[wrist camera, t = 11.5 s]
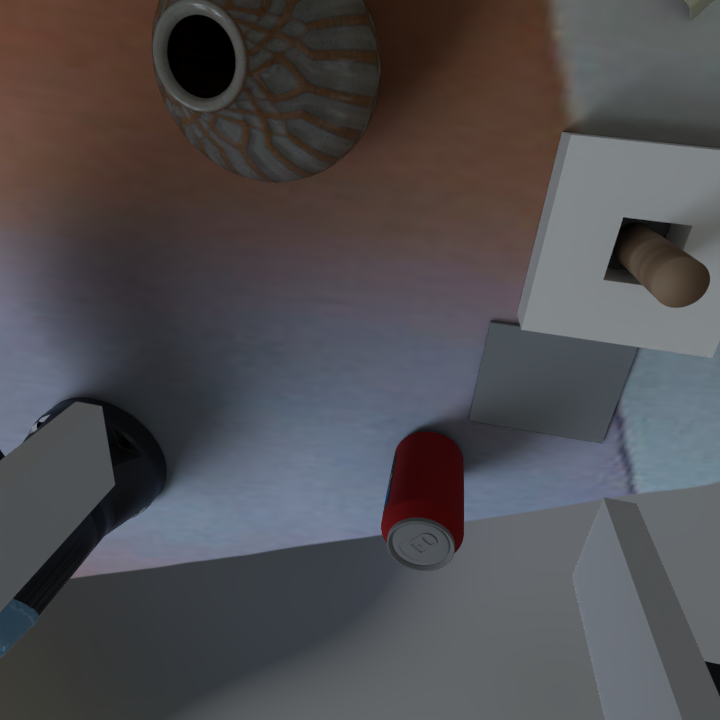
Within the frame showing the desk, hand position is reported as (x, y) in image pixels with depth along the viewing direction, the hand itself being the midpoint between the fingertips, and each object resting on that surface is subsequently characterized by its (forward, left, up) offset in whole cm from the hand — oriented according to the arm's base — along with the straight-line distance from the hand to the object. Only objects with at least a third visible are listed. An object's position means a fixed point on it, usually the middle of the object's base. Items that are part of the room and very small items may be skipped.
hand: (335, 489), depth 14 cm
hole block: (+16, +1, -32) cm, 36 cm away
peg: (+16, +1, -32) cm, 36 cm away
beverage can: (+4, -22, -32) cm, 39 cm away
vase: (-10, +10, -32) cm, 35 cm away
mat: (+13, -12, -32) cm, 36 cm away
